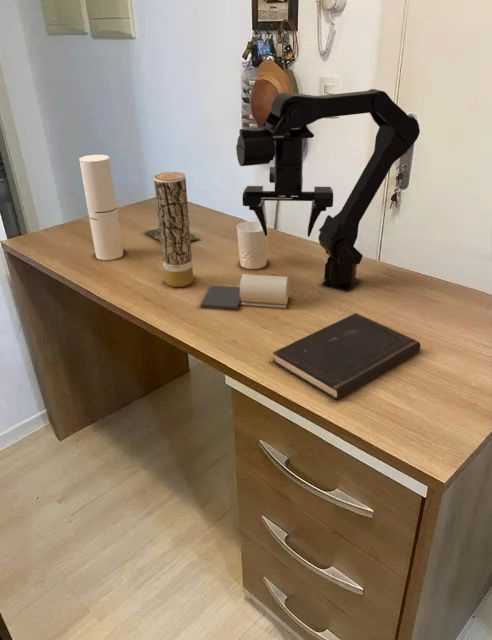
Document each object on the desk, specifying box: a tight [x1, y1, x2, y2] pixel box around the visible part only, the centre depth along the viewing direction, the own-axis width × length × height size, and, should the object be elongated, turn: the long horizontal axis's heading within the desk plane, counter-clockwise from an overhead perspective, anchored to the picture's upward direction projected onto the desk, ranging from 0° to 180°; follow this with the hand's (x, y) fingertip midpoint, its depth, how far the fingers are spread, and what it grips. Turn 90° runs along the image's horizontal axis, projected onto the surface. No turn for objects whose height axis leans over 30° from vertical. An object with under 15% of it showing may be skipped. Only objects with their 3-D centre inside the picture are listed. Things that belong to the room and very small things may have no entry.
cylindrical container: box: [78, 154, 124, 261], centre depth 142 cm, size 7×7×25 cm
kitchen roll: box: [239, 273, 290, 309], centre depth 122 cm, size 10×6×6 cm, turn 80°
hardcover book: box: [272, 313, 422, 400], centre depth 103 cm, size 16×23×2 cm
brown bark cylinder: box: [153, 171, 194, 288], centre depth 127 cm, size 7×7×25 cm
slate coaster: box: [200, 285, 242, 311], centre depth 125 cm, size 8×10×1 cm
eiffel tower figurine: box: [144, 228, 198, 242], centre depth 156 cm, size 15×10×13 cm
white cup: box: [236, 220, 270, 270], centre depth 139 cm, size 8×8×10 cm
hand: (287, 235), depth 121 cm, fingers open, 9 cm apart
